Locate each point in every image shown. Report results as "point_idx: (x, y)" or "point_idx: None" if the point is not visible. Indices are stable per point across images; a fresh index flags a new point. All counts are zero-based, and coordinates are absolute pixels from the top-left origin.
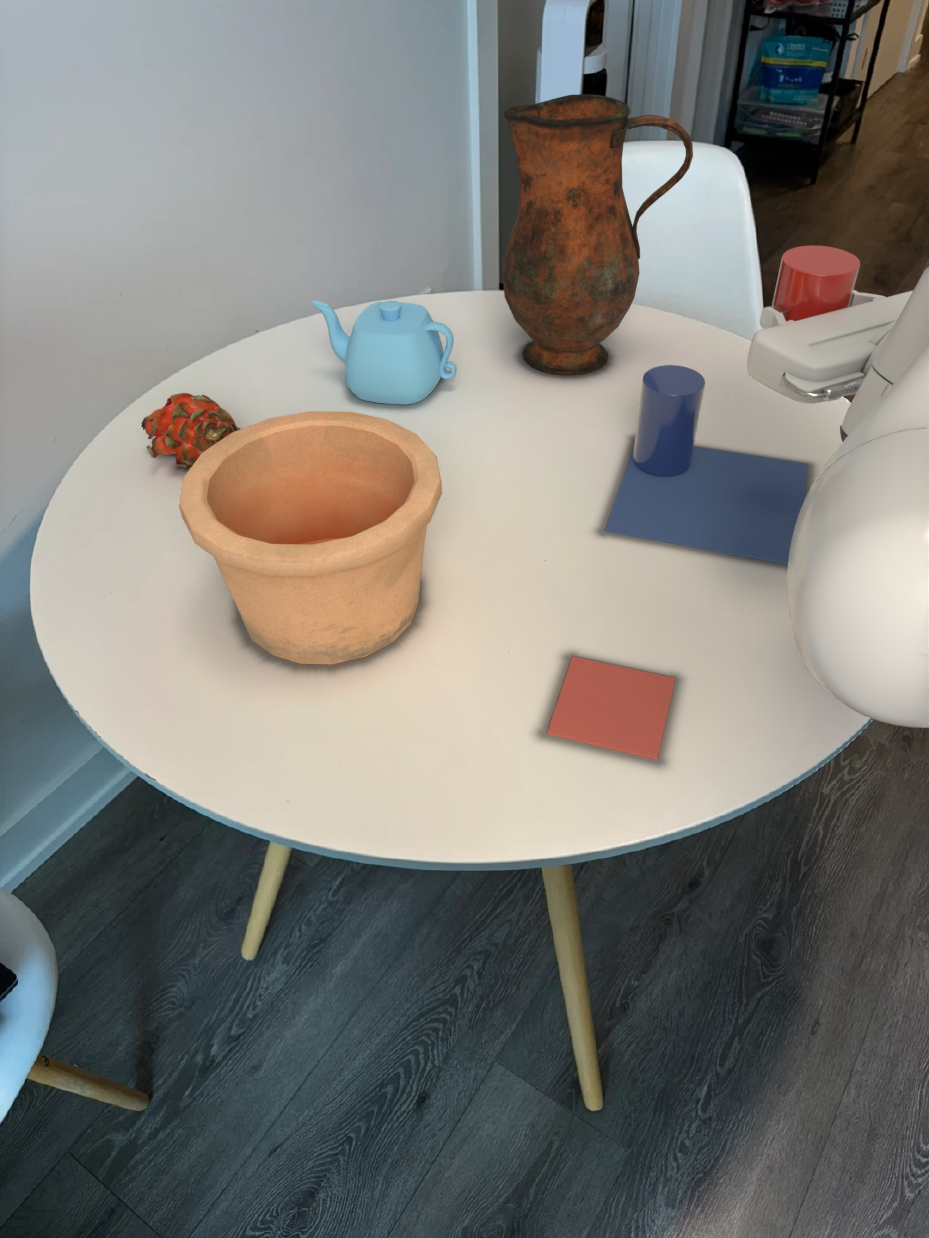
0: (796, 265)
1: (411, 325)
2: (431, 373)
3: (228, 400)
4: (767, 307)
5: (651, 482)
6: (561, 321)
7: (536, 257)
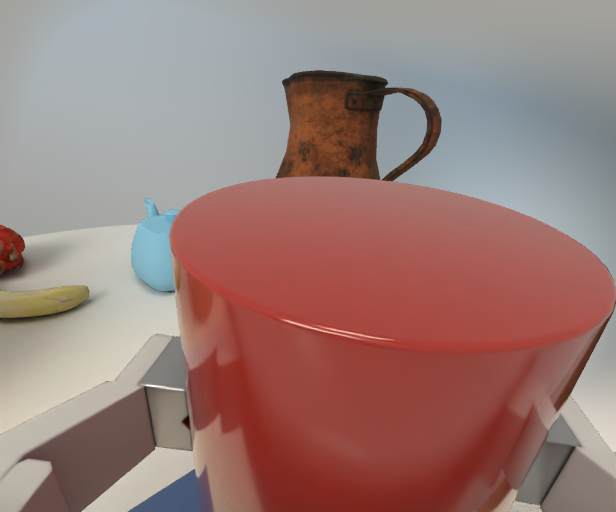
0: (223, 202)
1: None
2: None
3: (87, 246)
4: (159, 337)
5: None
6: None
7: None
